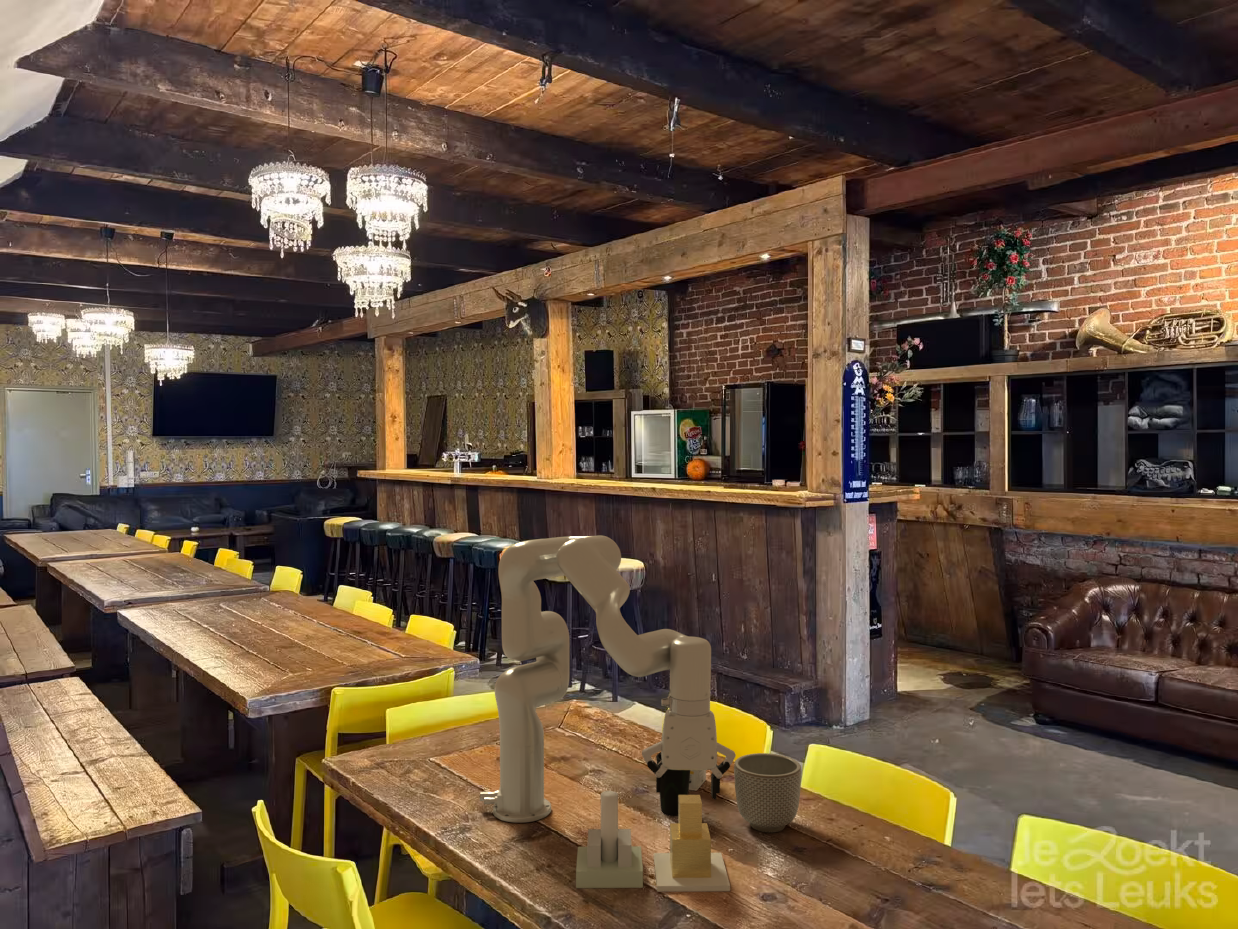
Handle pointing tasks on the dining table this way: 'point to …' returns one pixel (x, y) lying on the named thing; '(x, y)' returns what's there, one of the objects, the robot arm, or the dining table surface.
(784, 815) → the planter
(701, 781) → the container
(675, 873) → the stepped wooden tower
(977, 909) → the dining table surface
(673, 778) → the cup
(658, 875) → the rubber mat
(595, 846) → the vise
